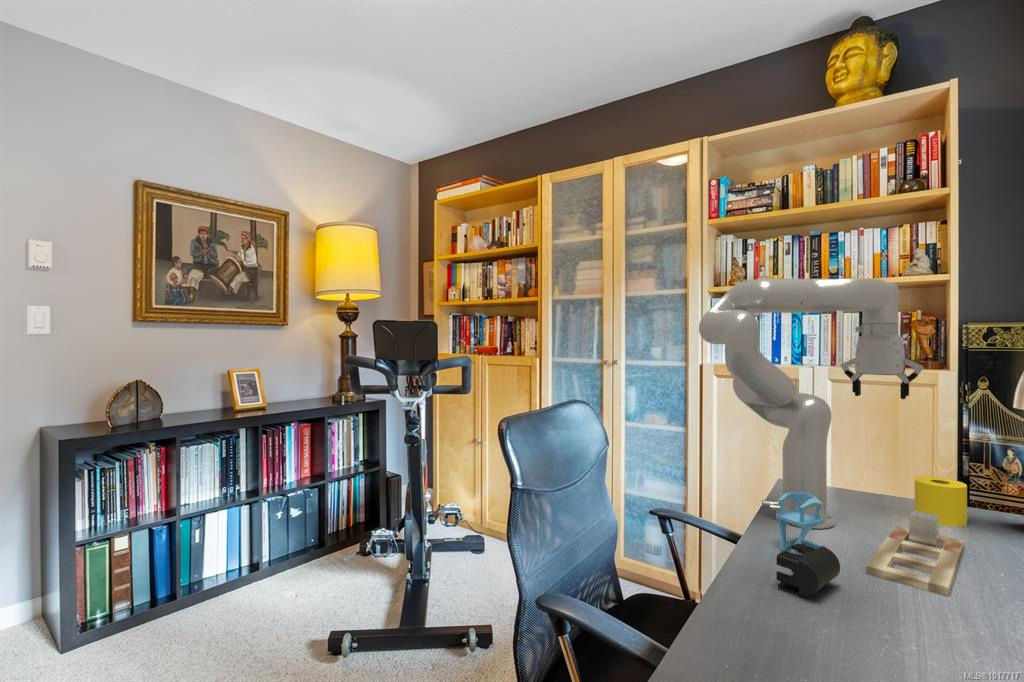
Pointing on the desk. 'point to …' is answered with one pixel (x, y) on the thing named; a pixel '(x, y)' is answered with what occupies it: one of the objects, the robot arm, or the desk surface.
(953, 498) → the tape roll
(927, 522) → the steel block
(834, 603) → the desk surface
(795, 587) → the power tool battery
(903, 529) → the hole rail
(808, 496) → the chair
